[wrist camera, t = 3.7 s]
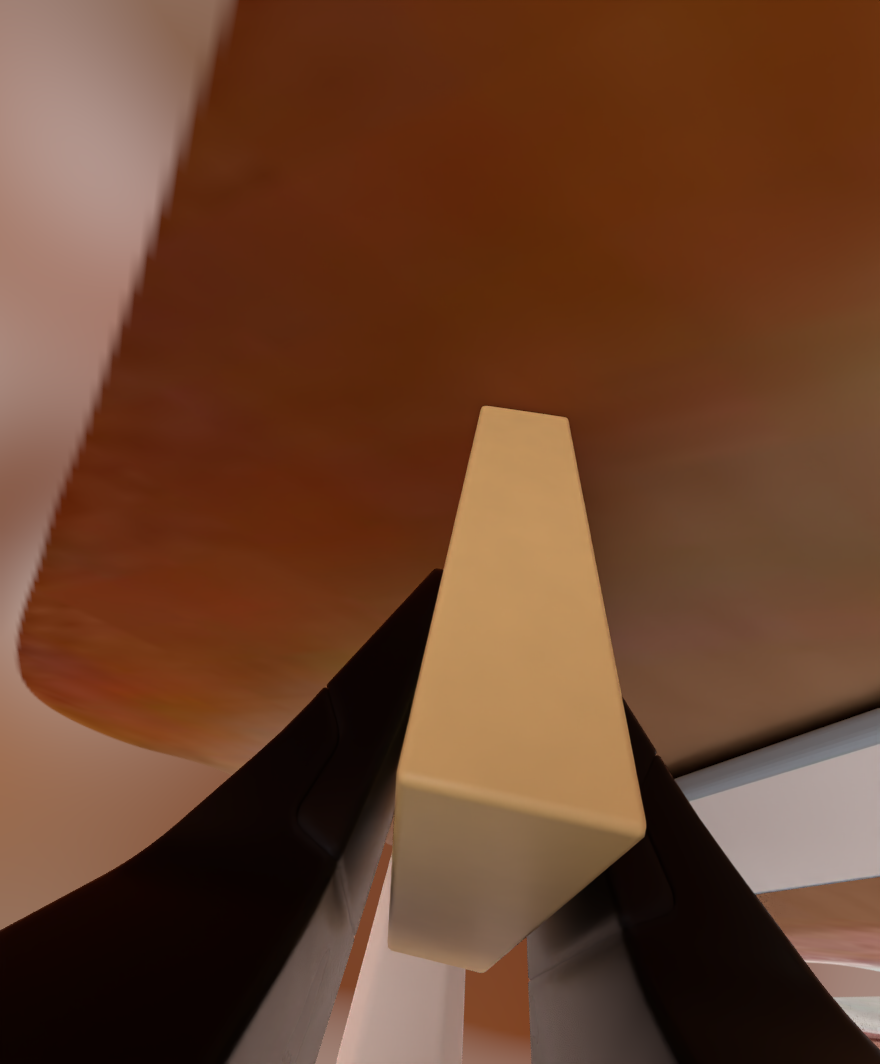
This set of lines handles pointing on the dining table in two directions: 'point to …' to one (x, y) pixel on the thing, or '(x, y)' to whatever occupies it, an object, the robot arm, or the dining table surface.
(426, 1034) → the perfume bottle
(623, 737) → the toast
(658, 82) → the dining table surface
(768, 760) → the smartphone
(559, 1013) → the robot arm
